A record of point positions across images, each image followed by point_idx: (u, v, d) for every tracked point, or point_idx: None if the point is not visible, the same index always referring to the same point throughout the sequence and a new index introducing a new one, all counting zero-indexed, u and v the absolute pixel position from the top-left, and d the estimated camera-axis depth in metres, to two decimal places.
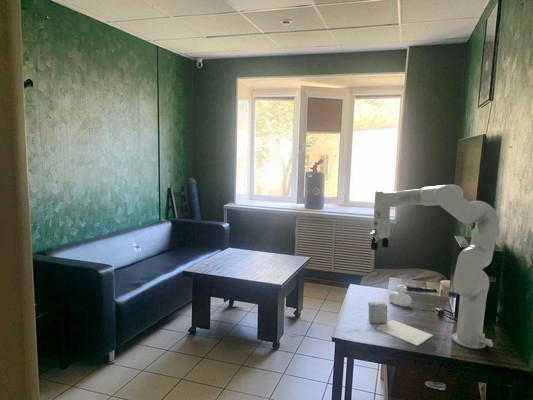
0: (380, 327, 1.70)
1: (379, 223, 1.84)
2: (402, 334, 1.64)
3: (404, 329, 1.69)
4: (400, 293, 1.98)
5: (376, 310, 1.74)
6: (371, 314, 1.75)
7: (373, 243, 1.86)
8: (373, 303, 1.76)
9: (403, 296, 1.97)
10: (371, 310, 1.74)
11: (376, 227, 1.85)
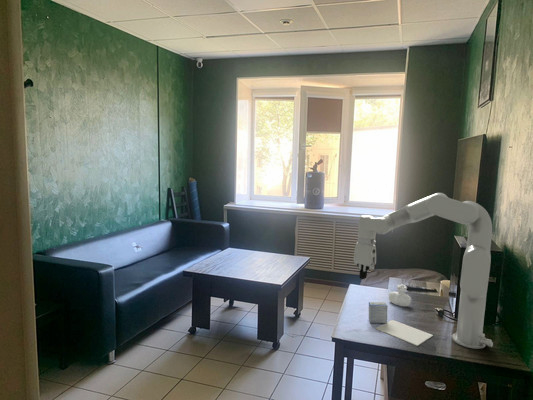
0: (380, 327, 1.70)
1: (375, 250, 1.78)
2: (402, 334, 1.64)
3: (404, 329, 1.69)
4: (400, 293, 1.98)
5: (376, 310, 1.74)
6: (371, 314, 1.75)
7: (366, 272, 1.80)
8: (374, 303, 1.76)
9: (403, 296, 1.97)
10: (371, 310, 1.75)
11: (374, 255, 1.77)
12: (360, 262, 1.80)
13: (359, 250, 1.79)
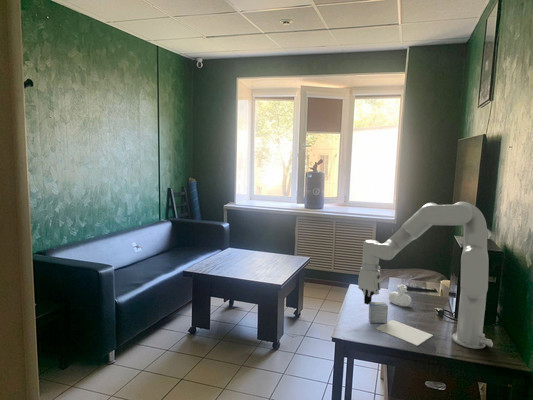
0: (380, 327, 1.70)
1: (380, 275, 1.76)
2: (402, 334, 1.64)
3: (404, 329, 1.69)
4: (400, 293, 1.98)
5: (376, 310, 1.74)
6: (371, 314, 1.75)
7: (370, 297, 1.79)
8: (374, 303, 1.76)
9: (403, 296, 1.97)
10: (371, 310, 1.74)
11: (379, 280, 1.76)
12: (365, 287, 1.79)
13: (364, 275, 1.78)
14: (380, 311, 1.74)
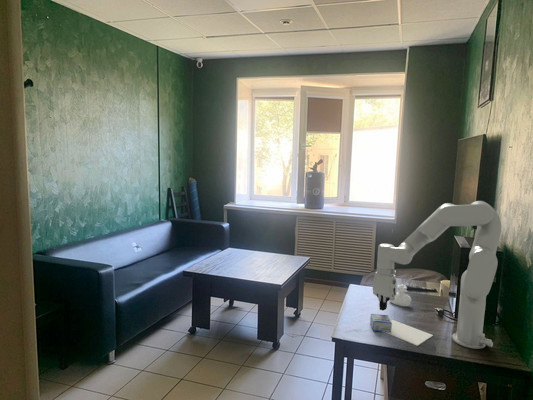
0: None
1: None
2: (402, 334, 1.64)
3: (404, 329, 1.69)
4: (400, 293, 1.98)
5: None
6: None
7: (386, 303, 1.73)
8: (378, 326, 1.66)
9: (403, 296, 1.97)
10: None
11: (395, 285, 1.70)
12: (380, 293, 1.73)
13: (379, 280, 1.72)
14: None
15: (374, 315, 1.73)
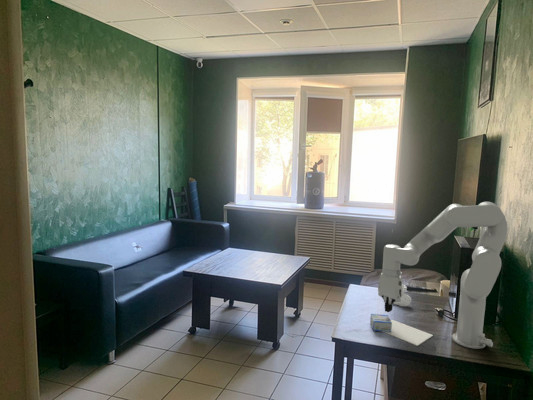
0: None
1: (401, 281, 1.68)
2: (402, 334, 1.64)
3: (404, 329, 1.69)
4: None
5: None
6: None
7: (391, 305, 1.71)
8: (378, 326, 1.66)
9: (403, 296, 1.97)
10: None
11: (400, 287, 1.68)
12: (385, 294, 1.70)
13: (384, 281, 1.70)
14: None
15: (374, 315, 1.73)
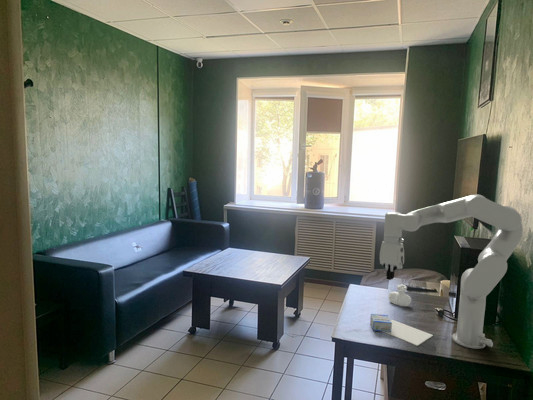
0: None
1: (403, 248, 1.68)
2: (402, 334, 1.64)
3: (404, 329, 1.69)
4: (400, 293, 1.98)
5: None
6: None
7: (393, 272, 1.70)
8: (378, 326, 1.66)
9: (403, 296, 1.97)
10: None
11: (402, 254, 1.67)
12: (387, 262, 1.70)
13: (386, 249, 1.69)
14: None
15: (374, 315, 1.73)
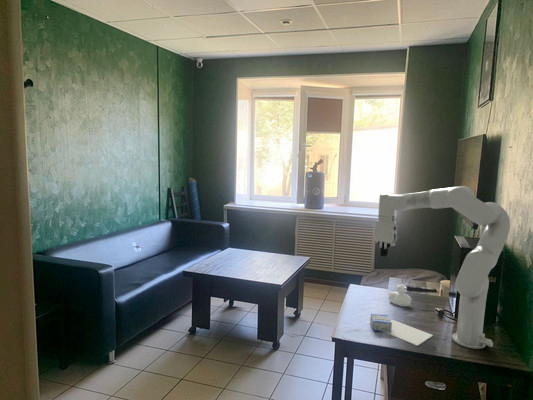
0: None
1: (396, 227, 1.80)
2: (402, 334, 1.64)
3: (404, 329, 1.69)
4: (400, 293, 1.98)
5: None
6: None
7: (387, 249, 1.82)
8: (378, 326, 1.66)
9: (403, 296, 1.97)
10: None
11: (395, 232, 1.79)
12: (381, 239, 1.82)
13: (380, 227, 1.81)
14: None
15: (374, 315, 1.73)
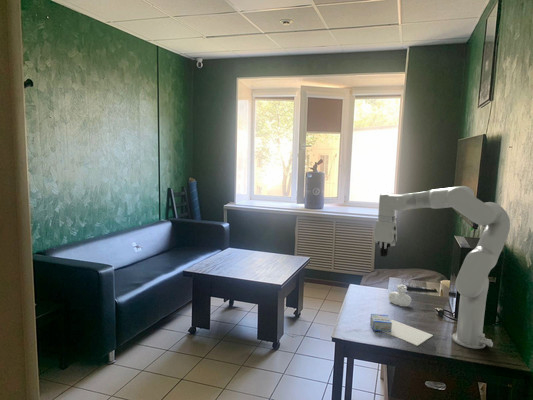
0: None
1: (396, 227, 1.80)
2: (402, 334, 1.64)
3: (404, 329, 1.69)
4: (400, 293, 1.98)
5: None
6: None
7: (387, 249, 1.82)
8: (378, 326, 1.66)
9: (403, 296, 1.97)
10: None
11: (395, 232, 1.79)
12: (381, 240, 1.82)
13: (380, 227, 1.81)
14: None
15: (374, 315, 1.73)
